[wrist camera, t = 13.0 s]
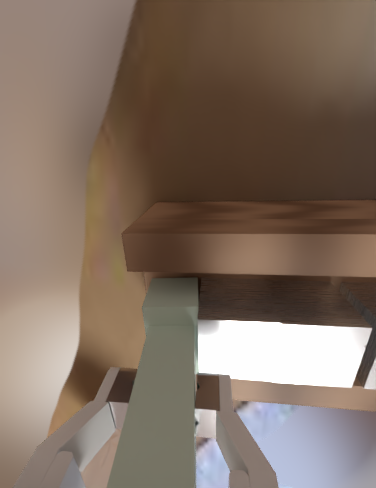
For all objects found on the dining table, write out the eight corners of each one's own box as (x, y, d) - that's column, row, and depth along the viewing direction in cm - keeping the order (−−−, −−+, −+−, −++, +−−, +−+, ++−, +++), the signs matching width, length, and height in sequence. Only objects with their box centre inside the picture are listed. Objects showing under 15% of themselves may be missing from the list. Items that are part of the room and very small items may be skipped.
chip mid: (330, 281, 14) (372, 328, 10) (319, 331, 15) (351, 387, 12) (263, 279, 14) (281, 324, 11) (259, 328, 16) (272, 382, 12)
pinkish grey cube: (264, 279, 14) (281, 323, 11) (259, 327, 16) (272, 381, 12) (201, 277, 15) (197, 319, 11) (202, 325, 16) (199, 376, 13)
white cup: (127, 442, 32) (93, 558, 23) (84, 412, 31) (29, 524, 21) (165, 423, 30) (143, 545, 20) (120, 390, 28) (74, 506, 19)
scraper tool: (197, 277, 15) (203, 492, 5) (199, 336, 16) (205, 572, 7) (152, 278, 15) (79, 489, 5) (158, 337, 17) (113, 569, 7)
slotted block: (429, 199, 16) (590, 235, 9) (380, 329, 21) (463, 419, 14) (156, 202, 18) (121, 233, 11) (166, 319, 23) (146, 392, 16)
